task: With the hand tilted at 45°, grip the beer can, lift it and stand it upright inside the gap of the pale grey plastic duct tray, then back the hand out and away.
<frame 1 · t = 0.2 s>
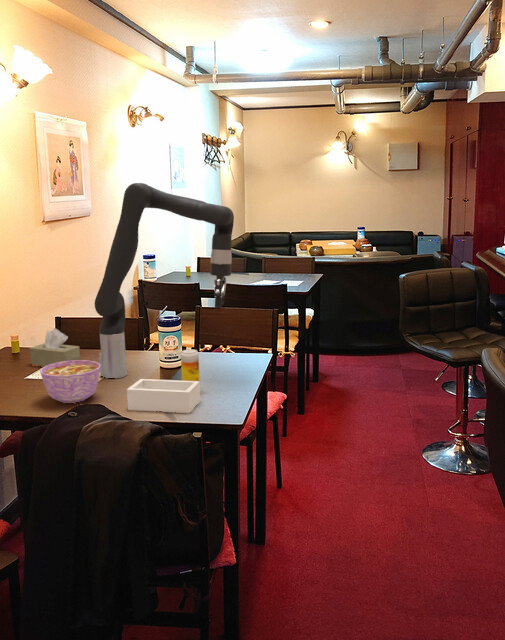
hand: (219, 306, 233), 28 cm above the table, tool pointing down, fingers open, 8 cm apart
beer can: (191, 392, 225), on the table
bowl of food: (73, 400, 219), on the table
duct tray: (164, 405, 212), on the table
tissue box: (56, 366, 265), on the table
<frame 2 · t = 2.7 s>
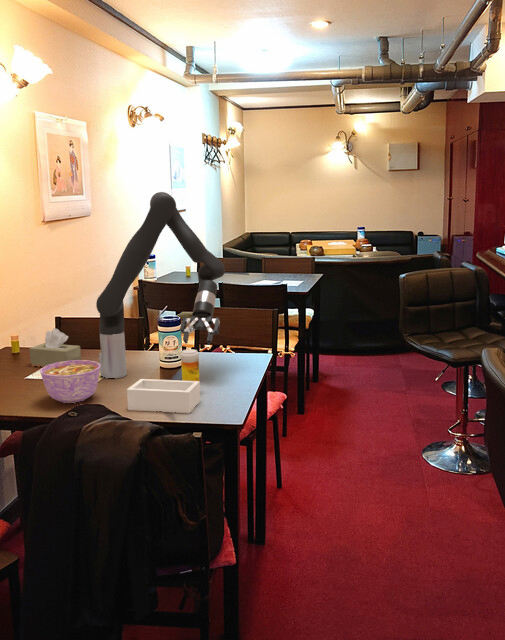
hand: (196, 342, 230), 16 cm above the table, tool tilted 45°, fingers open, 8 cm apart
nothing on the table moved.
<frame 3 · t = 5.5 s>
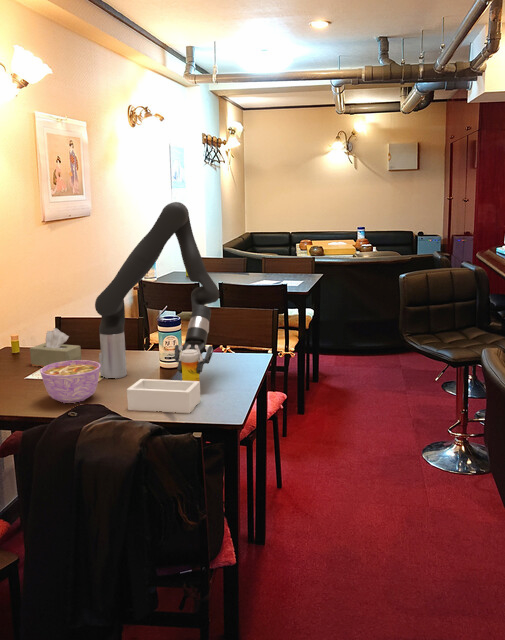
hand: (189, 372, 222), 8 cm above the table, tool tilted 45°, fingers closed on beer can, 6 cm apart
beer can: (191, 392, 225), on the table, touching gripper
everything else where it was.
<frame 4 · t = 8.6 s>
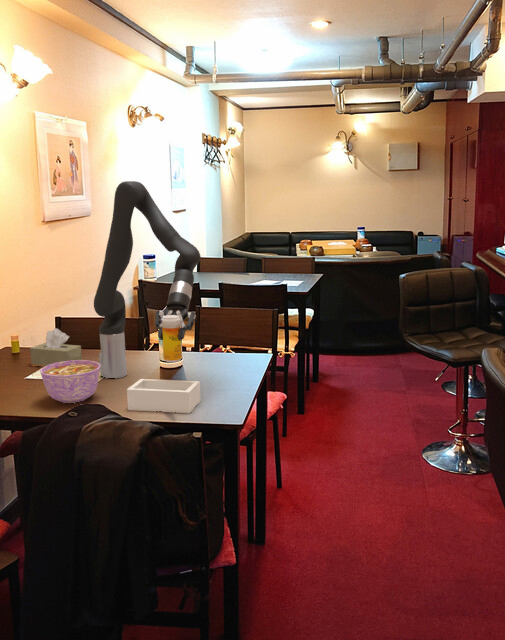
hand: (170, 338, 210), 22 cm above the table, tool tilted 45°, fingers closed on beer can, 6 cm apart
beer can: (172, 361, 214), point 14 cm above the table, touching gripper
everything else where it was.
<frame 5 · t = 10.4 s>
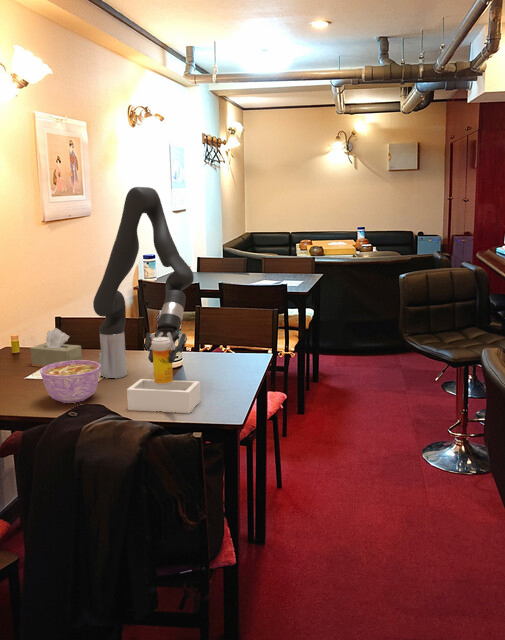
hand: (160, 361, 207), 16 cm above the table, tool tilted 45°, fingers closed on beer can, 6 cm apart
beer can: (163, 383, 210), point 8 cm above the table, touching gripper
everything else where it was.
when the fingers open (10 cm above the table, at t = 11.9 s): beer can drops 1 cm, resting on duct tray.
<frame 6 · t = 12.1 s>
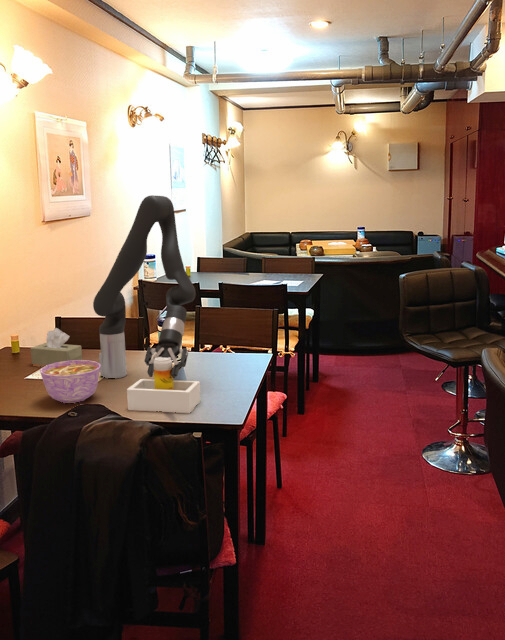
hand: (161, 376, 208), 10 cm above the table, tool tilted 45°, fingers open, 7 cm apart
beer can: (164, 403, 212), point 1 cm above the table, touching duct tray
everything else where it was.
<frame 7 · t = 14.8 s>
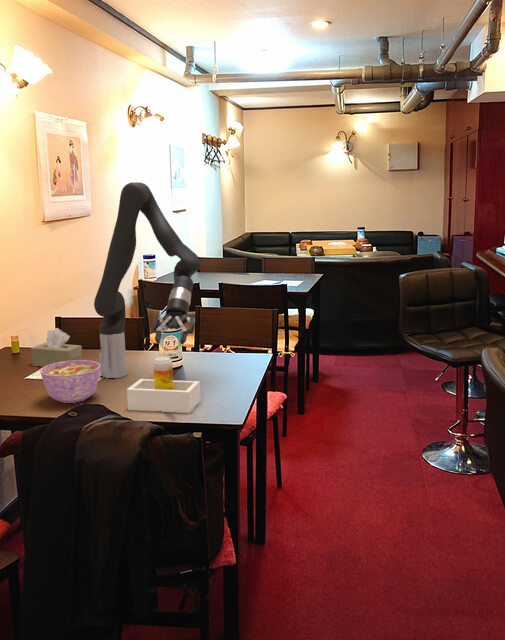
hand: (169, 342, 215), 20 cm above the table, tool tilted 45°, fingers open, 8 cm apart
nothing on the table moved.
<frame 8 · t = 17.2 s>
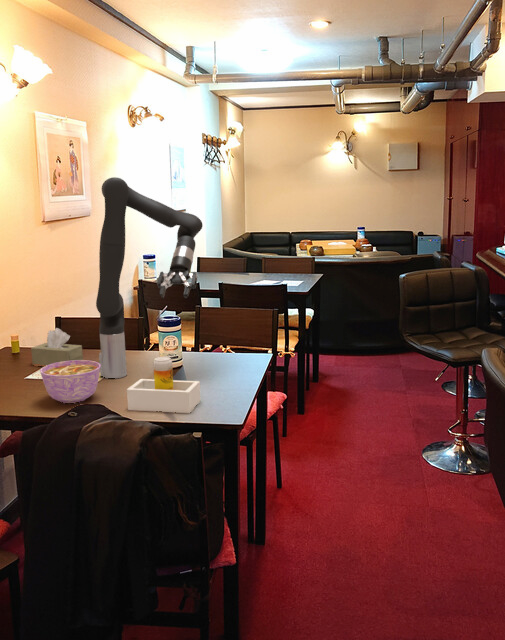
hand: (173, 296, 229), 33 cm above the table, tool tilted 45°, fingers open, 8 cm apart
at the end: beer can inside the target area on the duct tray (0.2 cm from its centre), point 0.8 cm above the duct tray's base; beer can tilted 0°; the gripper is holding nothing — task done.
